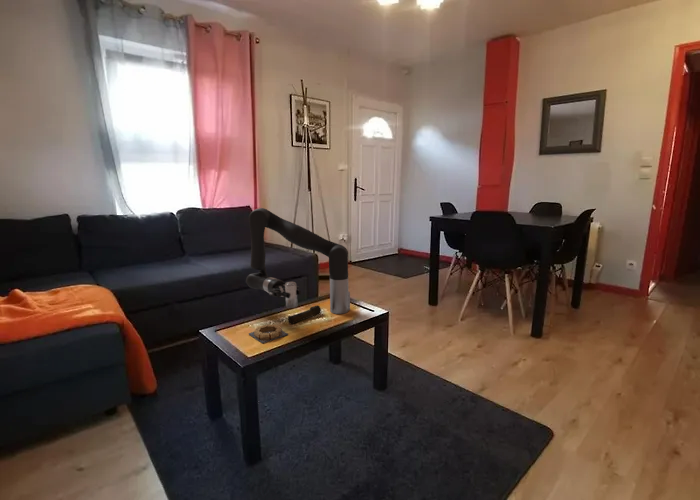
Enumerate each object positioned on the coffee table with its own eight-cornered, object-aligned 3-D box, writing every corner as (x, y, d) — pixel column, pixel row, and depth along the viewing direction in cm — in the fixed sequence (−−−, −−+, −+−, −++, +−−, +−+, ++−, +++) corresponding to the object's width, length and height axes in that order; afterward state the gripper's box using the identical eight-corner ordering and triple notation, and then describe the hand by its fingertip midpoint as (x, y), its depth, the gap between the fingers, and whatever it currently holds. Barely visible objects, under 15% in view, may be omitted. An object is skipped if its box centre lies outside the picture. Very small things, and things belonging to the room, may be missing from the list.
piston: (293, 303, 164) (292, 280, 162) (299, 306, 161) (298, 283, 159) (283, 306, 161) (282, 283, 159) (290, 308, 157) (288, 285, 155)
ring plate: (273, 327, 163) (273, 321, 163) (288, 335, 154) (287, 329, 154) (248, 334, 155) (248, 329, 155) (262, 343, 146) (262, 338, 146)
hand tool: (292, 325, 165) (292, 316, 164) (287, 323, 168) (287, 313, 167) (324, 314, 178) (324, 305, 177) (319, 312, 181) (318, 304, 180)
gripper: (259, 281, 165) (279, 289, 152) (286, 275, 174) (307, 282, 162) (261, 297, 166) (280, 306, 154) (287, 290, 176) (308, 298, 163)
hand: (294, 294), depth 158 cm, fingers closed on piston, 5 cm apart
